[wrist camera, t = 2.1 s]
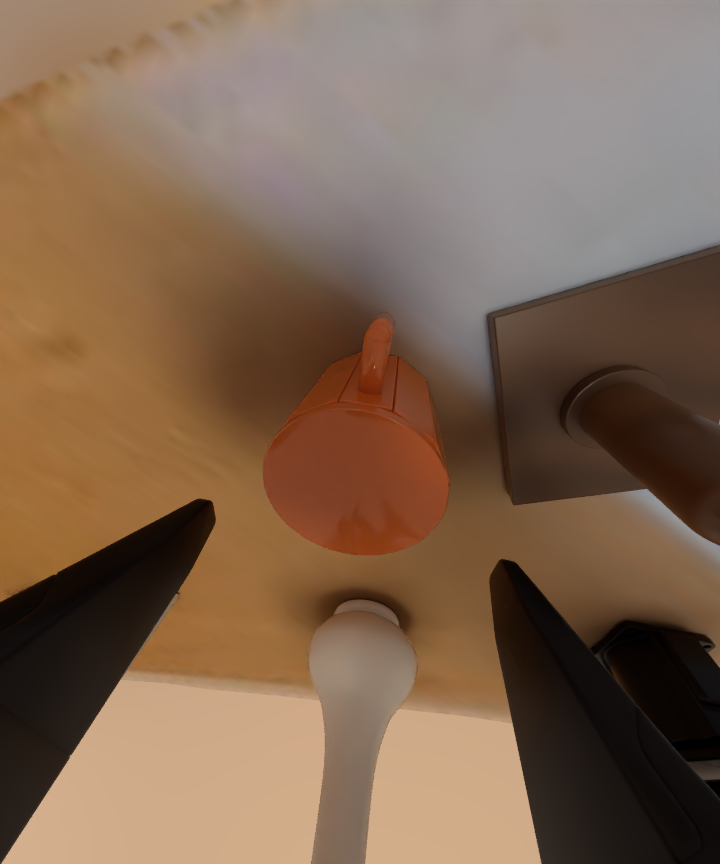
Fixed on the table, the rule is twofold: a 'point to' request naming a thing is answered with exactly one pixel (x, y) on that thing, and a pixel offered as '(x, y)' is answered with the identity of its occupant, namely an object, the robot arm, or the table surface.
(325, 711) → the flower vase
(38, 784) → the robot arm
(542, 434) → the cup stand
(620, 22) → the table surface
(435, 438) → the orange cup
